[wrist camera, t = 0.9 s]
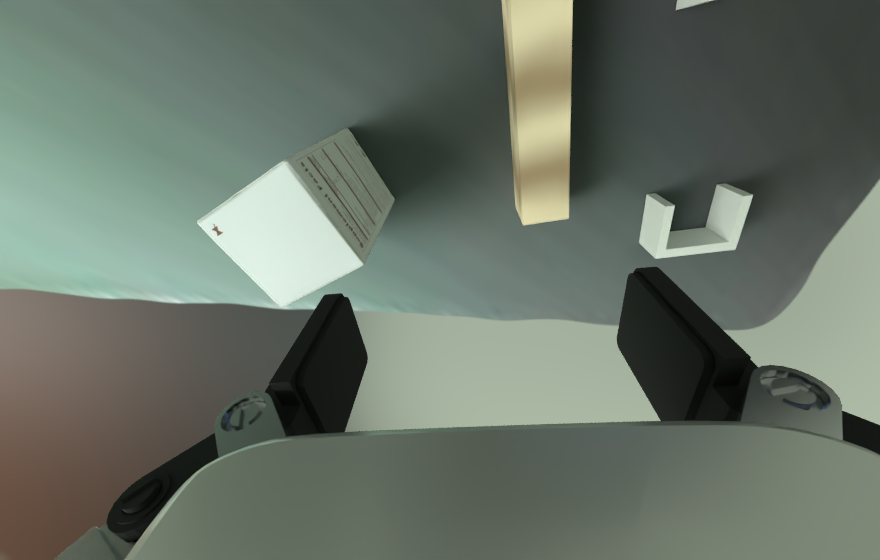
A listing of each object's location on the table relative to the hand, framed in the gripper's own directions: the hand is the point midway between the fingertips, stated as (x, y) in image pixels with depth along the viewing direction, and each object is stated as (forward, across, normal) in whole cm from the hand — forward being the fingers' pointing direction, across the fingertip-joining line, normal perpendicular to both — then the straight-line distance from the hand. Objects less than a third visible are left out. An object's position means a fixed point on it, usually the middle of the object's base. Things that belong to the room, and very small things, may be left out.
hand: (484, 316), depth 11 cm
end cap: (+21, -19, +6) cm, 29 cm away
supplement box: (+21, +12, 0) cm, 24 cm away
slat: (+21, -5, -6) cm, 23 cm away
